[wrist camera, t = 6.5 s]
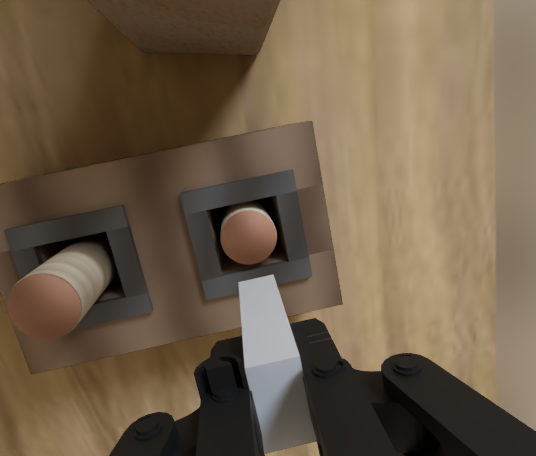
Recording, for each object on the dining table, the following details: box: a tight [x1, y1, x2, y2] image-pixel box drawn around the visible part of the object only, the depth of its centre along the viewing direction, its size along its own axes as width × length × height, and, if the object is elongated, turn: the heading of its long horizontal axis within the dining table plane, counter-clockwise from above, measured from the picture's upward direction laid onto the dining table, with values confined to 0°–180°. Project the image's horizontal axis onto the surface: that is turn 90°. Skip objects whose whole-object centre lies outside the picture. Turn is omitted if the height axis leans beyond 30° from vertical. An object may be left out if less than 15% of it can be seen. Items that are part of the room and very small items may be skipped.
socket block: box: [0, 121, 343, 375], centre depth 34 cm, size 24×14×9 cm, turn 102°
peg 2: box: [220, 199, 277, 265], centre depth 34 cm, size 4×4×8 cm
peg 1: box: [7, 237, 118, 340], centre depth 28 cm, size 4×4×8 cm
